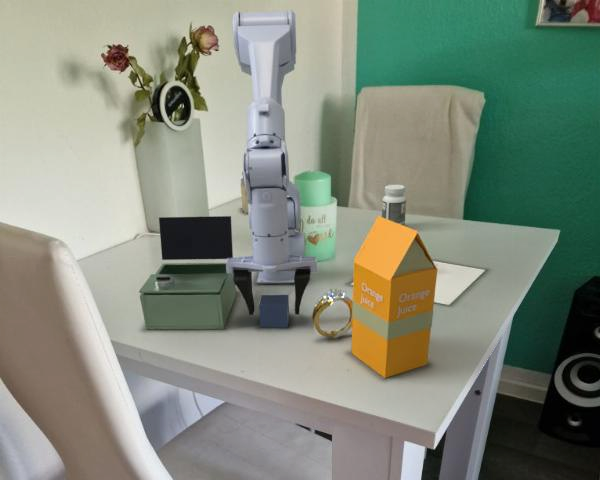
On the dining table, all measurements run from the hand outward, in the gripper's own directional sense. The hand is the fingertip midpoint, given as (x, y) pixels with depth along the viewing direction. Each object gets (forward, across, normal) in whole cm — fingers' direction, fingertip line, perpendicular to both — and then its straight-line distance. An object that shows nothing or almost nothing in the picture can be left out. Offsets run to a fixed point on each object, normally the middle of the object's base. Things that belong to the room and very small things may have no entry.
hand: (274, 312), depth 94 cm
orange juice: (+2, +18, -13) cm, 22 cm away
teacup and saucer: (+2, +27, +20) cm, 34 cm away
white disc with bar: (-5, -15, 0) cm, 15 cm away
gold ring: (+2, +10, -6) cm, 12 cm away
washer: (+2, -15, +5) cm, 16 cm away
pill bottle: (+2, +25, +53) cm, 59 cm away
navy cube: (+2, 0, 0) cm, 2 cm away
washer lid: (-9, -15, +14) cm, 22 cm away
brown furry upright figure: (+2, -13, +72) cm, 73 cm away
